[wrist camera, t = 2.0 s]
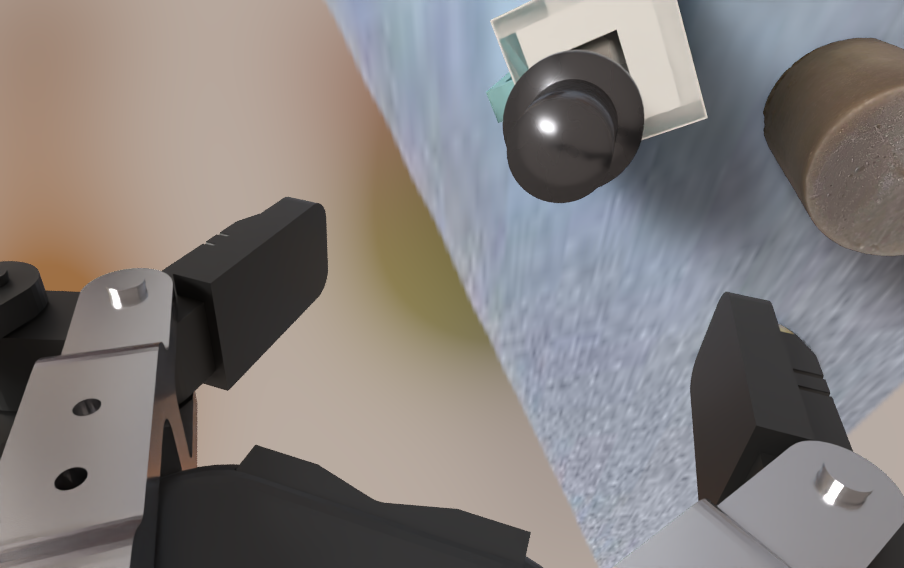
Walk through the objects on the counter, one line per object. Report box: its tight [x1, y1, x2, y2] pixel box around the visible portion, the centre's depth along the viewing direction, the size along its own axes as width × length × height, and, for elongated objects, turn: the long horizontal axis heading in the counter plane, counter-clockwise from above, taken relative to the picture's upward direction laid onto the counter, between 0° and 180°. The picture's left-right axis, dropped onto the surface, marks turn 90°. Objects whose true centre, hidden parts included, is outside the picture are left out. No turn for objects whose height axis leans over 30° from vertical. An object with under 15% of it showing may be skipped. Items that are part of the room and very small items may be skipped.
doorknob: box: [503, 30, 645, 203], centre depth 26 cm, size 6×6×18 cm
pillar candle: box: [763, 38, 904, 256], centre depth 35 cm, size 10×10×15 cm
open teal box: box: [486, 0, 708, 140], centre depth 38 cm, size 9×11×14 cm
